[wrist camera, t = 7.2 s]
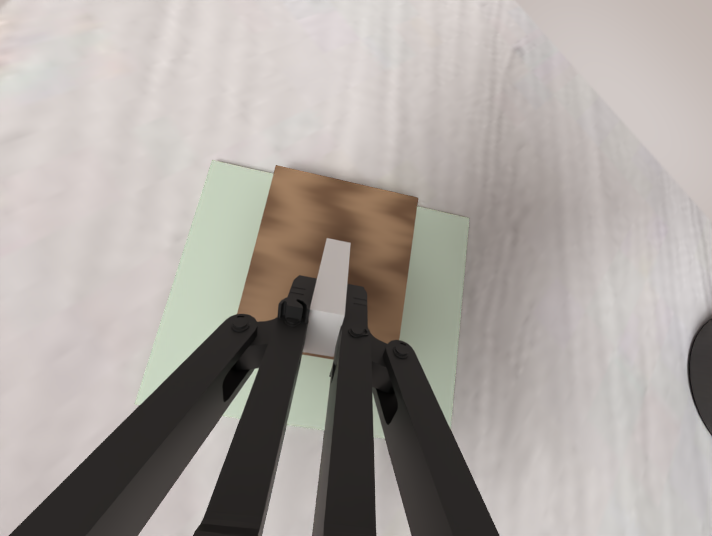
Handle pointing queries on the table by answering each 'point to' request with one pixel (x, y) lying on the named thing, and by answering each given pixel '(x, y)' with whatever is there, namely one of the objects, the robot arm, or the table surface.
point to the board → (339, 222)
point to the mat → (229, 272)
